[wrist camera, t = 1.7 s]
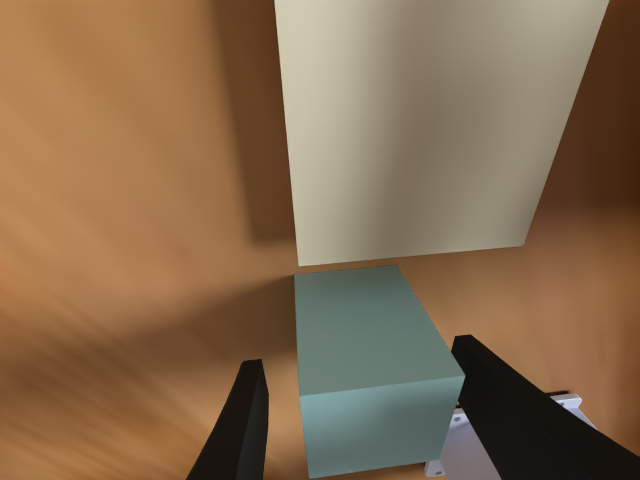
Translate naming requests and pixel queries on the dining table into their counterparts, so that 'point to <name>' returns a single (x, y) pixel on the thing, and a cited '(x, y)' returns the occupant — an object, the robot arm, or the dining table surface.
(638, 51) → the dining table surface
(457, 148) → the cream block
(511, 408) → the robot arm
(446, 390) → the teal block
